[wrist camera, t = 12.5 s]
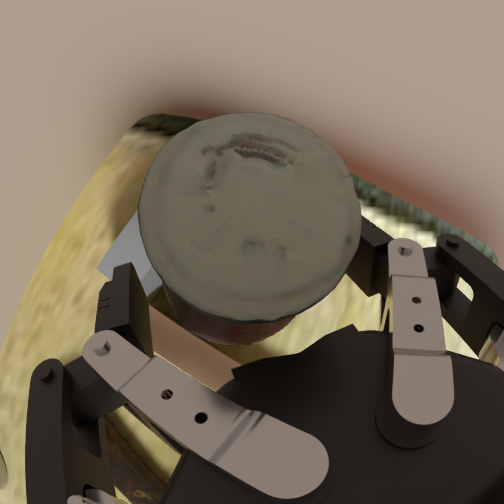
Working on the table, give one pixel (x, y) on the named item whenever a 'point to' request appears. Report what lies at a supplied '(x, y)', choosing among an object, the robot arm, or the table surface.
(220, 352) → the walnut straightedge
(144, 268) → the end stop
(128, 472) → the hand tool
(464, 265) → the robot arm
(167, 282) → the sauce bottle
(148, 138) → the table surface
